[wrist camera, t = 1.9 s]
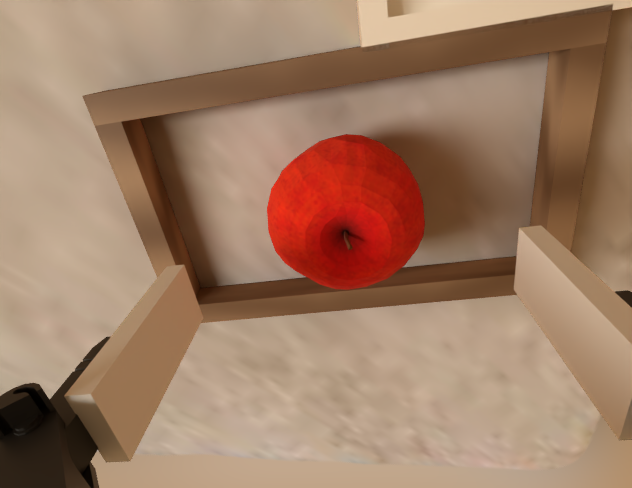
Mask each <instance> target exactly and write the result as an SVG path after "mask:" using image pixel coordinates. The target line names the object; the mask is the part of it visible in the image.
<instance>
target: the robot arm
mask: <svg viewBox="0 0 632 488" xmlns="http://www.w3.org/2000/svg"><path fill="white" fill-rule="evenodd" d="M514 291H515V292H516V294H517V295H518V297H519V298H520V299H521V301H522V302H523V304H524V305H525V307H526V308H527V309H528V311H529V312H530V314H531V315H532V317H533V318H534V319H535V321H536V322H537V324H538V325H539V327H540V328H541V329H542V331H543V332H544V334H545V335H546V337H547V338H548V339H549V341H550V342H551V344H552V345H553V347H554V348H555V349H556V351H557V352H558V354H559V355H560V357H561V358H562V359H563V361H564V362H565V364H566V365H567V367H568V368H569V369H570V371H571V372H572V374H573V375H574V377H575V378H576V380H577V381H578V382H579V384H580V385H581V387H582V388H583V390H584V391H585V392H586V394H587V395H588V397H589V398H590V400H591V401H592V402H593V404H594V405H595V407H596V408H597V410H598V411H599V412H600V414H601V415H602V417H603V418H604V420H605V421H606V422H607V424H608V425H609V427H610V428H611V430H612V431H613V432H614V434H615V435H616V436H617V438H618V439H619V440H632V292H630V291H617V292H614V291H613V290H612V289H611V288H609V287H608V286H607V285H606V284H605V283H604V282H603V281H602V280H601V279H600V278H598V277H597V276H596V275H595V274H594V273H593V272H592V271H591V270H590V269H589V268H587V267H586V266H585V265H584V264H583V263H582V262H581V261H580V260H579V259H578V258H576V257H575V256H574V255H573V254H572V253H571V252H570V251H569V250H568V249H567V248H565V247H564V246H563V245H562V244H561V243H560V242H559V241H558V240H557V239H556V238H554V237H553V236H552V235H551V234H550V233H549V232H548V231H547V230H546V229H545V228H543V227H542V226H541V225H540V226H531V227H522V228H519V235H518V247H517V258H516V269H515V280H514ZM202 319H203V316H202V313H201V310H200V307H199V305H198V302H197V299H196V296H195V293H194V291H193V288H192V285H191V282H190V279H189V277H188V274H187V271H186V268H185V266H184V265H176V266H167V267H166V268H165V269H164V271H163V272H162V273H161V274H160V276H159V277H158V278H157V279H156V281H155V282H154V283H153V284H152V286H151V287H150V288H149V289H148V291H147V292H146V293H145V295H144V296H143V297H142V298H141V300H140V301H139V302H138V303H137V305H136V306H135V307H134V308H133V310H132V311H131V312H130V313H129V315H128V316H127V317H126V318H125V320H124V321H123V322H122V324H121V325H120V326H119V327H118V329H117V330H116V331H115V332H114V334H113V335H112V336H111V337H106V338H105V339H103V340H102V341H101V342H99V343H98V344H97V345H96V346H94V347H93V348H92V349H91V350H90V352H89V353H88V354H87V355H86V356H85V358H84V359H83V362H81V363H80V364H79V365H78V366H77V367H76V369H75V372H72V373H71V375H70V376H69V377H68V378H67V380H66V381H65V382H64V383H63V384H62V386H61V387H60V388H59V389H58V390H57V392H56V393H55V394H54V395H53V396H52V398H51V399H50V400H49V398H48V397H47V395H46V394H45V392H44V391H43V389H42V388H41V386H40V385H39V384H36V383H29V384H24V385H21V386H18V387H16V388H13V389H11V390H10V391H8V392H6V393H4V394H3V395H1V396H0V488H99V485H98V480H97V475H96V471H95V468H94V467H93V465H92V463H91V462H90V461H91V460H92V458H93V456H94V455H95V453H96V451H97V450H99V452H100V453H101V455H102V457H103V458H104V460H105V461H106V462H123V461H130V460H131V459H132V457H133V455H134V453H135V451H136V449H137V447H138V445H139V443H140V441H141V439H142V437H143V435H144V433H145V431H146V429H147V427H148V425H149V423H150V421H151V419H152V417H153V415H154V413H155V412H156V410H157V408H158V406H159V404H160V402H161V400H162V398H163V396H164V394H165V392H166V390H167V388H168V386H169V384H170V382H171V380H172V378H173V376H174V374H175V372H176V370H177V368H178V366H179V364H180V362H181V360H182V359H183V357H184V355H185V353H186V351H187V349H188V347H189V345H190V343H191V341H192V339H193V337H194V335H195V333H196V331H197V329H198V327H199V325H200V323H201V321H202Z"/></svg>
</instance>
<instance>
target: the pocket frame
mask: <svg viewBox="0 0 632 488" xmlns="http://www.w3.org/2000/svg"><path fill="white" fill-rule="evenodd" d="M599 7H600V8H602V9H599ZM599 7H598V6H597V7H594V8H592V9H589V8H588V9H586V10H585V9H584V10H585V11H587V12H586V13H585V11H584V10H583V9H582V10H581V9H580V11H579V10H577V11H576V10H575V11H573V12H572V11H569V12H570V13H569V12H568V13H569V14H568V13H566V12H563V13H561V14H559V13H557V15H556V14H553V15H552V14H551V15H547V16H546V15H545V16H546V17H545V16H542V17H543V18H544V19H543V18H539V17H540V16H539V17H538V18H537V19H538V20H537V19H536V17H534V18H533V19H529V18H528V19H529V20H528V19H523V20H524V21H523V20H520V21H519V20H517V21H518V22H516V21H512V22H507V23H501V24H500V23H499V24H500V25H499V24H496V25H495V24H494V25H495V26H494V25H489V26H485V27H484V26H482V27H479V28H477V27H476V28H477V29H476V28H471V29H465V30H463V31H462V30H459V31H453V32H454V33H453V32H452V33H451V32H447V33H442V34H443V35H442V34H441V35H440V34H436V35H433V36H431V35H430V36H426V37H425V36H424V37H425V38H424V37H419V38H420V40H419V38H415V39H416V40H415V41H416V42H415V41H414V38H413V39H410V41H409V39H407V40H401V42H400V41H399V42H398V41H396V42H390V43H387V44H389V45H387V46H384V45H385V43H384V44H382V45H383V46H382V47H380V48H378V47H379V46H381V45H380V44H378V45H379V46H378V45H373V48H374V49H373V48H372V49H370V48H371V47H372V46H371V47H370V46H367V47H369V48H367V47H361V46H360V47H354V48H349V49H343V50H337V51H331V52H326V53H320V54H314V55H308V56H303V57H297V58H291V59H285V60H280V61H274V62H268V63H263V64H257V65H251V66H245V67H240V68H234V69H228V70H222V71H217V72H211V73H205V74H199V75H194V76H188V77H182V78H176V79H171V80H165V81H159V82H153V83H148V84H142V85H136V86H131V87H125V88H119V89H113V90H108V91H102V92H98V93H93V94H89V95H84V96H83V99H84V101H85V104H86V106H87V108H88V111H89V113H90V116H91V118H92V120H93V123H94V125H95V128H96V130H97V133H98V135H99V137H100V140H101V142H102V145H103V147H104V149H105V152H106V154H107V157H108V159H109V162H110V164H111V166H112V169H113V171H114V174H115V176H116V179H117V181H118V183H119V186H120V188H121V191H122V193H123V195H124V198H125V200H126V203H127V205H128V208H129V210H130V212H131V215H132V217H133V220H134V222H135V225H136V227H137V229H138V232H139V234H140V237H141V239H142V241H143V244H144V246H145V249H146V251H147V254H148V256H149V258H150V261H151V263H152V266H153V268H154V271H155V273H156V275H157V278H158V277H159V276H160V274H161V273H162V272H163V271H164V269H165V268H166V267H167V266H176V265H184V266H185V268H186V271H187V274H188V277H189V279H190V282H191V285H192V288H193V291H194V293H195V296H196V299H197V302H198V305H199V307H200V310H201V313H202V316H203V319H202V321H201V323H205V322H216V321H228V320H239V319H250V318H261V317H272V316H284V315H295V314H306V313H317V312H328V311H340V310H351V309H362V308H373V307H384V306H396V305H407V304H418V303H429V302H440V301H452V300H463V299H474V298H485V297H496V296H508V295H517V294H516V292H515V291H514V280H515V269H516V258H517V256H516V257H506V258H496V259H486V260H476V261H466V262H457V263H447V264H437V265H427V266H417V267H407V268H401V269H399V270H398V271H397V272H395V273H394V274H393V275H392V276H390V277H389V278H388V279H385V280H383V281H380V282H377V283H375V284H372V285H370V286H367V287H362V288H356V289H349V290H345V289H334V288H330V287H327V286H323V285H320V284H318V283H316V282H315V281H313V280H311V279H309V278H298V279H288V280H278V281H269V282H259V283H249V284H239V285H229V286H219V287H209V288H200V285H199V282H198V280H197V277H196V274H195V271H194V268H193V266H192V263H191V260H190V257H189V254H188V252H187V249H186V246H185V243H184V240H183V237H182V235H181V232H180V229H179V226H178V223H177V221H176V218H175V215H174V212H173V209H172V207H171V204H170V201H169V198H168V195H167V193H166V190H165V187H164V184H163V181H162V179H161V176H160V173H159V170H158V167H157V165H156V162H155V159H154V156H153V153H152V151H151V148H150V145H149V142H148V139H147V137H146V134H145V131H144V128H143V125H142V123H141V120H140V118H146V117H152V116H158V115H165V114H171V113H177V112H183V111H189V110H195V109H202V108H208V107H214V106H220V105H226V104H232V103H238V102H245V101H251V100H257V99H263V98H269V97H275V96H282V95H288V94H294V93H300V92H306V91H312V90H318V89H325V88H331V87H337V86H343V85H349V84H355V83H362V82H368V81H374V80H380V79H386V78H392V77H398V76H405V75H411V74H417V73H423V72H429V71H435V70H442V69H448V68H454V67H460V66H466V65H472V64H479V63H485V62H491V61H497V60H503V59H509V58H515V57H522V56H528V55H534V54H540V53H546V52H549V58H548V67H547V76H546V85H545V94H544V103H543V112H542V121H541V130H540V139H539V149H538V158H537V167H536V176H535V185H534V194H533V203H532V212H531V221H530V227H531V226H540V225H541V226H542V227H543V228H545V229H546V230H547V231H548V232H549V233H550V234H551V235H552V236H553V237H554V238H556V239H557V240H558V241H559V242H560V243H561V244H562V245H563V246H564V247H565V248H567V249H568V250H569V251H570V252H571V248H572V242H573V237H574V231H575V225H576V219H577V213H578V207H579V201H580V196H581V190H582V184H583V178H584V172H585V166H586V161H587V155H588V149H589V143H590V137H591V131H592V125H593V120H594V114H595V108H596V102H597V96H598V90H599V85H600V79H601V73H602V67H603V61H604V55H605V50H606V44H607V38H608V32H609V26H610V20H611V14H612V11H611V10H612V9H613V8H612V9H611V8H610V7H613V5H612V6H611V4H609V5H608V7H606V6H605V5H604V6H599ZM605 7H606V8H605ZM607 8H608V9H607ZM589 10H590V11H592V13H591V12H590V11H589ZM602 10H604V12H603V11H602ZM606 10H607V11H606ZM575 12H577V13H578V14H579V13H580V12H582V14H581V13H580V14H579V15H578V14H577V13H575ZM589 12H590V13H589ZM595 12H596V13H595ZM564 13H566V15H567V16H566V15H565V14H564ZM572 13H574V14H572ZM588 13H589V14H588ZM571 14H572V15H571ZM587 14H588V15H587ZM558 15H559V17H558ZM561 15H563V16H564V17H563V16H562V17H561ZM568 15H569V16H568ZM576 15H577V16H576ZM551 16H553V17H551ZM554 16H555V17H556V18H557V19H556V18H555V17H554ZM565 16H566V17H565ZM572 16H573V17H572ZM575 16H576V17H575ZM570 17H571V18H570ZM545 18H546V19H545ZM540 19H541V20H540ZM534 20H536V21H534ZM529 21H530V22H529ZM540 21H541V22H540ZM545 21H547V22H545ZM520 22H521V23H523V24H521V23H520ZM536 22H537V23H536ZM509 23H510V24H511V25H512V24H513V25H512V26H513V27H512V26H511V25H510V24H509ZM516 23H517V24H516ZM518 23H519V24H518ZM531 23H532V24H531ZM533 23H536V24H533ZM528 24H529V25H528ZM505 25H506V27H505ZM517 25H519V26H517ZM522 25H523V26H522ZM500 26H502V27H500ZM514 26H515V27H514ZM487 27H488V28H487ZM489 27H490V28H489ZM492 27H493V28H492ZM509 27H510V28H509ZM482 28H483V29H482ZM484 28H485V29H484ZM494 28H495V29H494ZM498 29H499V30H498ZM466 30H467V31H466ZM476 30H477V31H476ZM484 30H485V32H484ZM488 30H489V32H488ZM493 30H494V31H493ZM465 31H466V32H465ZM469 31H471V32H469ZM481 32H482V33H481ZM483 32H484V33H483ZM459 33H460V34H459ZM466 33H467V35H466ZM470 33H471V34H470ZM444 34H445V35H444ZM449 34H450V35H449ZM453 34H454V35H455V36H454V35H453ZM461 35H462V36H461ZM440 36H441V37H440ZM447 36H448V37H449V36H450V37H449V38H448V37H447ZM430 37H431V38H430ZM432 37H433V38H432ZM439 37H440V38H439ZM436 38H437V39H436ZM426 39H427V40H426ZM402 41H403V42H402ZM413 41H414V42H413ZM417 41H419V42H417ZM407 42H408V43H407ZM423 42H424V43H423ZM415 43H416V44H415ZM402 44H403V46H402ZM391 45H392V46H391ZM396 45H397V46H396ZM405 45H406V46H405ZM374 46H375V47H374ZM377 46H378V47H377ZM376 47H377V48H378V49H375V48H376ZM386 47H387V48H386ZM389 47H390V48H389ZM365 48H367V49H365ZM383 48H384V50H380V49H383ZM365 50H367V51H366V52H365ZM376 50H377V51H376ZM370 51H371V52H370Z"/></svg>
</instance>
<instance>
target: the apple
mask: <svg viewBox="0 0 632 488" xmlns="http://www.w3.org/2000/svg"><path fill="white" fill-rule="evenodd" d="M267 214H268V229H269V234H270V237H271V240H272V243H273V245H274V248H275V251H276V252H277V254H278V255H279V256H280V257H281V259H282V260H283V261H284V262H285V263H286V264H287V265H289V266H290V267H291V268H293V269H294V270H295V271H297V272H299V273H300V274H302V275H304V276H306V277H308V278H309V279H311V280H313V281H315V282H316V283H318V284H320V285H323V286H327V287H330V288H334V289H345V290H349V289H356V288H362V287H367V286H370V285H372V284H375V283H377V282H380V281H383V280H385V279H388V278H389V277H390V276H392V275H393V274H394V273H395V272H397V271H398V270H399V269H401V268H402V267H403V266H404V265H405V264H406V263H407V261H408V260H409V259H410V258H411V256H412V255H413V254H414V252H415V251H416V250H417V248H418V246H419V244H420V242H421V240H422V238H423V235H424V226H425V221H424V209H423V201H422V197H421V194H420V190H419V186H418V183H417V182H416V180H415V178H414V176H413V175H412V173H411V171H410V169H409V168H408V167H407V165H406V164H405V163H404V161H403V160H402V159H401V157H400V156H398V155H397V154H396V153H394V152H393V151H392V150H390V149H389V148H388V147H386V146H385V145H383V144H382V143H380V142H378V141H375V140H372V139H370V138H367V137H365V136H362V135H347V134H346V135H341V136H337V137H333V138H329V139H326V140H322V141H319V142H318V143H316V144H315V145H313V146H312V147H310V148H309V149H307V150H306V151H305V152H303V153H302V154H301V155H299V156H298V157H297V158H295V159H294V160H293V161H292V162H291V163H290V164H289V165H288V166H287V167H286V168H285V169H284V170H283V171H282V172H281V174H280V176H279V178H278V180H277V181H276V183H275V184H274V186H273V187H272V189H271V194H270V198H269V202H268V207H267Z"/></svg>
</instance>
